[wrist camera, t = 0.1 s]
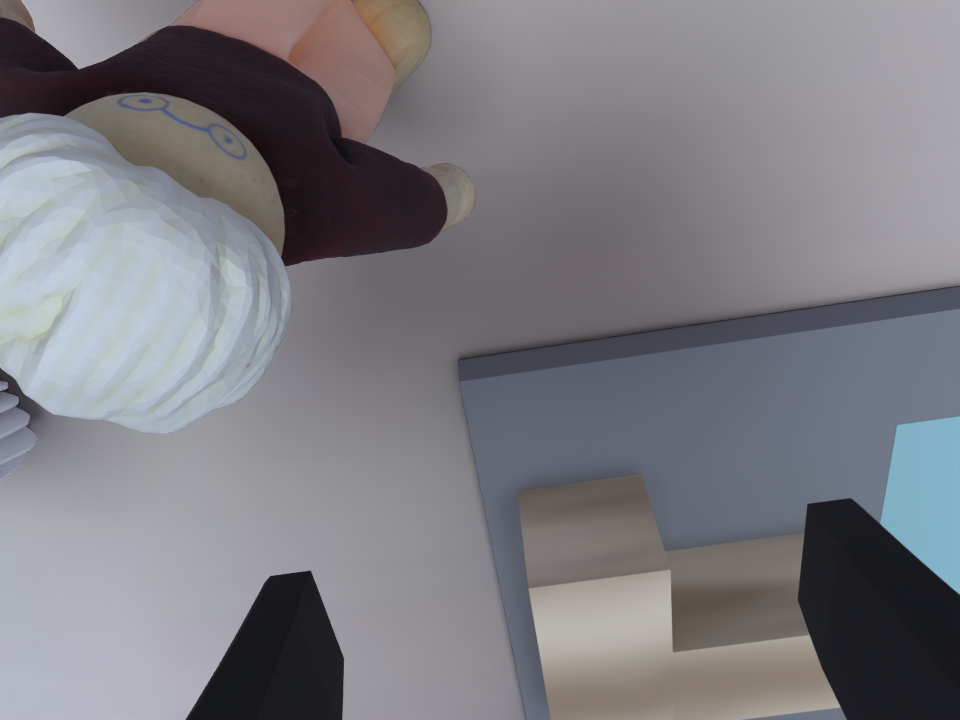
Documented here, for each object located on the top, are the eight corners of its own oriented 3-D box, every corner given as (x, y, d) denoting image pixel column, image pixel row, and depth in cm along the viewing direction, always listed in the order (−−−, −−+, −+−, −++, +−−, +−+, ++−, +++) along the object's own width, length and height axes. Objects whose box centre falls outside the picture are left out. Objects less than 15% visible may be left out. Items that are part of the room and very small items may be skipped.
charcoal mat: (1227, 656, 31) (1249, 680, 30) (533, 742, 32) (535, 768, 31) (1481, 209, 21) (1526, 226, 20) (458, 360, 22) (459, 381, 21)
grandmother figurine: (494, -44, 17) (593, 213, 6) (457, 140, 19) (484, 571, 8) (93, -135, 15) (-647, -17, 5) (101, 71, 18) (-410, 469, 7)
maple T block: (841, 664, 28) (887, 762, 25) (551, 701, 29) (564, 801, 26) (876, 441, 23) (939, 533, 20) (516, 491, 23) (528, 588, 20)
